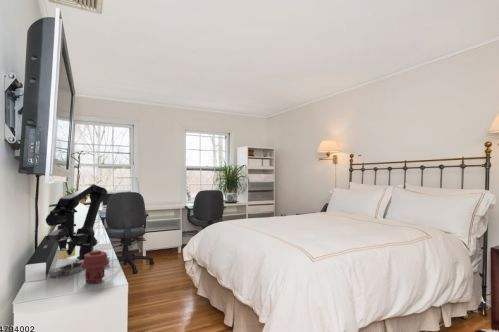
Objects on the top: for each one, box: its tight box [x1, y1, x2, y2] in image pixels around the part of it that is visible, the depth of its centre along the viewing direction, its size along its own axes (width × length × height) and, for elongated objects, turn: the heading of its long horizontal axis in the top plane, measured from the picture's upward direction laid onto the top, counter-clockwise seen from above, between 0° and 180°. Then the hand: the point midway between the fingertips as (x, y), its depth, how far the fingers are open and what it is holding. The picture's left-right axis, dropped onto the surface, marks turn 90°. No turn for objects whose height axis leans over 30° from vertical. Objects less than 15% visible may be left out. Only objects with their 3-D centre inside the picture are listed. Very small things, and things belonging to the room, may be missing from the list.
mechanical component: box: [81, 249, 110, 284], centre depth 119 cm, size 12×10×10 cm
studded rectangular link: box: [49, 259, 85, 279], centre depth 130 cm, size 16×9×3 cm, turn 168°
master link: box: [56, 246, 76, 260], centre depth 139 cm, size 7×4×5 cm, turn 170°
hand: (66, 254), depth 139 cm, fingers closed on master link, 3 cm apart
